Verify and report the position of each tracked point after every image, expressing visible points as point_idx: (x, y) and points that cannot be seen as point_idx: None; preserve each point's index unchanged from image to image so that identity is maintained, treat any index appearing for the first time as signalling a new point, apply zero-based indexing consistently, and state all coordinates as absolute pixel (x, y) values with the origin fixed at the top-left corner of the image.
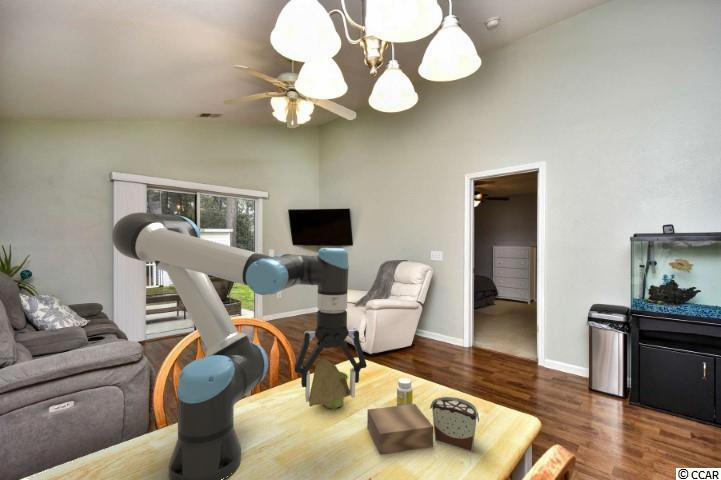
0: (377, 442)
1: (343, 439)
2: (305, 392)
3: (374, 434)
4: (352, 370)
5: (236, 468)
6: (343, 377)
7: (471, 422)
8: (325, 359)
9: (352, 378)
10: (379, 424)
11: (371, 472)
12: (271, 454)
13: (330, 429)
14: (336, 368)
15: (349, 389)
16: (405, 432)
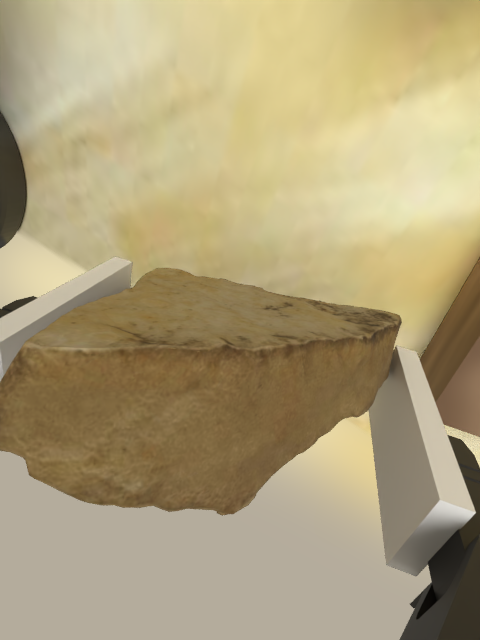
0: (431, 360)
1: (354, 242)
2: (99, 266)
3: (452, 330)
4: (414, 546)
5: (18, 224)
6: (347, 415)
7: None
8: (86, 501)
9: (381, 507)
10: (476, 373)
11: None
12: (107, 198)
13: (345, 145)
14: (253, 486)
15: (385, 378)
16: None
